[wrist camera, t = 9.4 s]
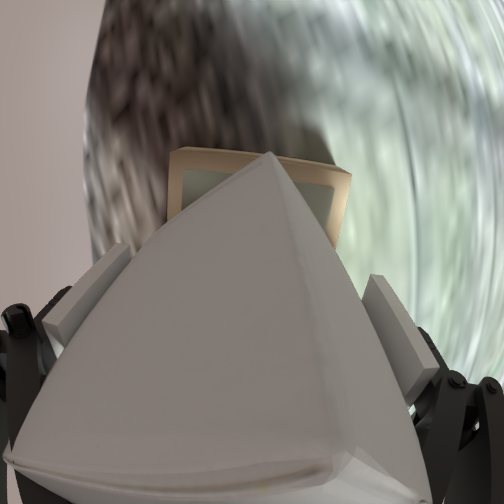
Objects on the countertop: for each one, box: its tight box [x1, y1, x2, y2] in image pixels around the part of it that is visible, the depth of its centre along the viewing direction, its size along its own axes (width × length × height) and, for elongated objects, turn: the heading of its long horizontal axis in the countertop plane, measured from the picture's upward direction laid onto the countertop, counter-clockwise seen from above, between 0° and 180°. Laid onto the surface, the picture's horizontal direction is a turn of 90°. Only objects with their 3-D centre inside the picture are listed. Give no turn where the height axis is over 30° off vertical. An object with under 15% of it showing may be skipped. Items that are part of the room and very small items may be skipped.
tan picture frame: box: [167, 147, 352, 249], centre depth 20 cm, size 11×11×4 cm
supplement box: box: [3, 151, 433, 504], centre depth 10 cm, size 9×9×15 cm
